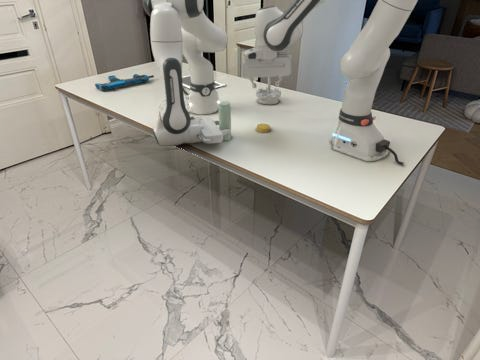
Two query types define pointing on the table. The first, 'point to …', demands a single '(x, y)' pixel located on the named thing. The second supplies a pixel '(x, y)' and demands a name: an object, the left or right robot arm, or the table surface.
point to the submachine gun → (122, 82)
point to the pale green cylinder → (225, 118)
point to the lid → (263, 127)
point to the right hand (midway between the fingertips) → (265, 87)
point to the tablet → (187, 80)
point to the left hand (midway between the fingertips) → (227, 126)
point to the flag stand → (268, 94)
